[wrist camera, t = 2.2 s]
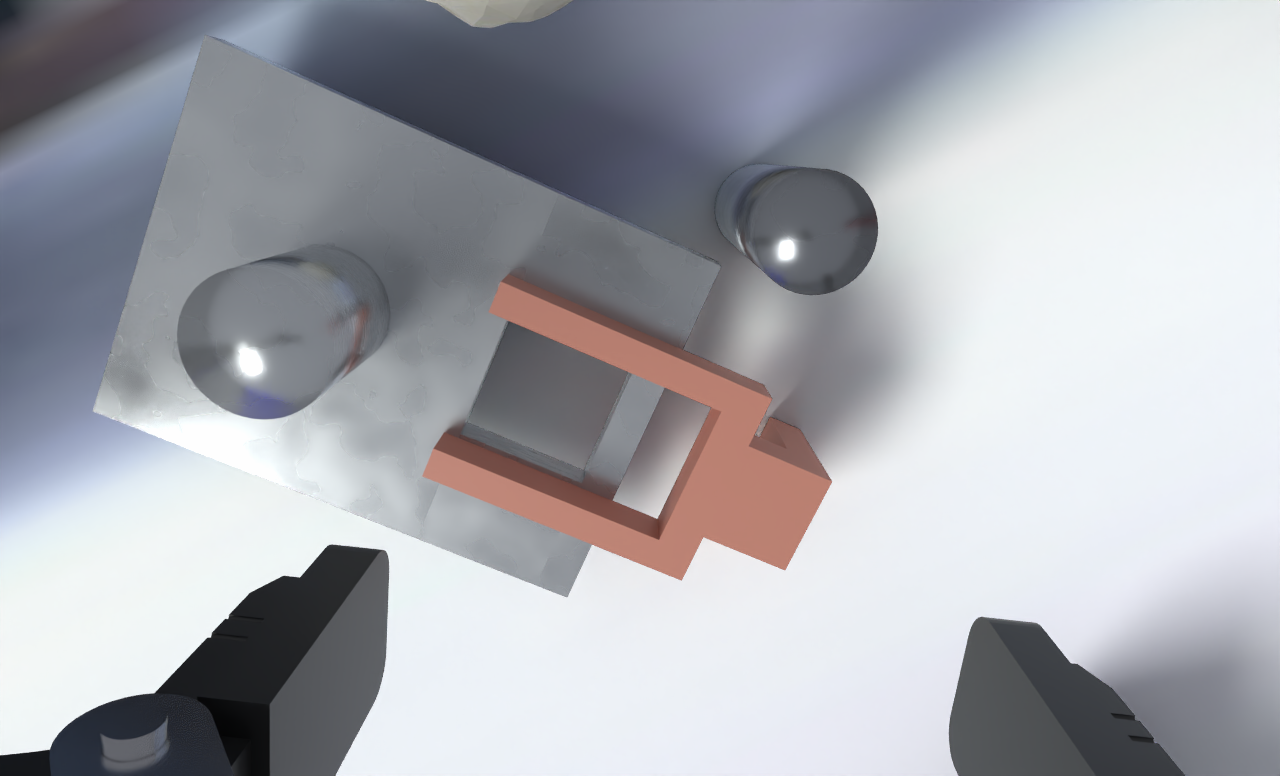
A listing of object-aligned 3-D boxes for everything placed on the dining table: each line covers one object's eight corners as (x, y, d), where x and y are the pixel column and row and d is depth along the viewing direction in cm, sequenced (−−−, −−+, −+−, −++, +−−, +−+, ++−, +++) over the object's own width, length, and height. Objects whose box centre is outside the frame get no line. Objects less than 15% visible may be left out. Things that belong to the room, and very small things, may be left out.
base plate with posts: (153, 382, 39) (-28, 469, 28) (257, 49, 35) (95, 4, 25) (573, 550, 41) (553, 689, 30) (710, 253, 37) (742, 292, 27)
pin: (700, 230, 37) (732, 264, 26) (737, 149, 36) (787, 147, 25) (777, 264, 38) (842, 314, 26) (815, 185, 37) (900, 200, 25)
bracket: (455, 424, 39) (421, 476, 33) (522, 259, 37) (500, 281, 31) (742, 542, 41) (762, 612, 35) (820, 390, 39) (856, 435, 33)
